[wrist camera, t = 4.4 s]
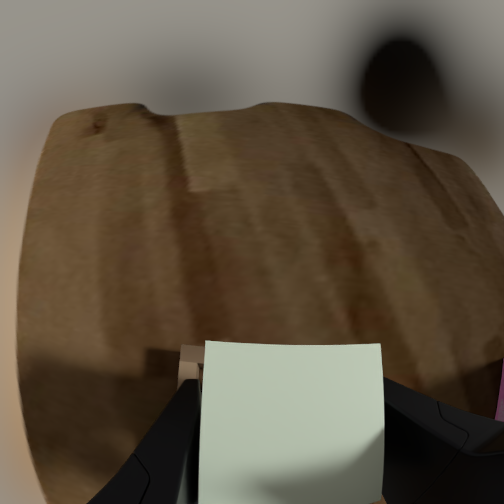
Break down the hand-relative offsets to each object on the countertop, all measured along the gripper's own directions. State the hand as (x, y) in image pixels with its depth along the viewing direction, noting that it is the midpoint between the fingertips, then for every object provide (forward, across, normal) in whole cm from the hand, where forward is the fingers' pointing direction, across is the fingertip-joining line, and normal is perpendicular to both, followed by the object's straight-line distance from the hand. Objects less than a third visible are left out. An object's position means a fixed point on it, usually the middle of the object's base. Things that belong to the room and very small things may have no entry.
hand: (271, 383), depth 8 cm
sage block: (+4, 0, +6) cm, 7 cm away
